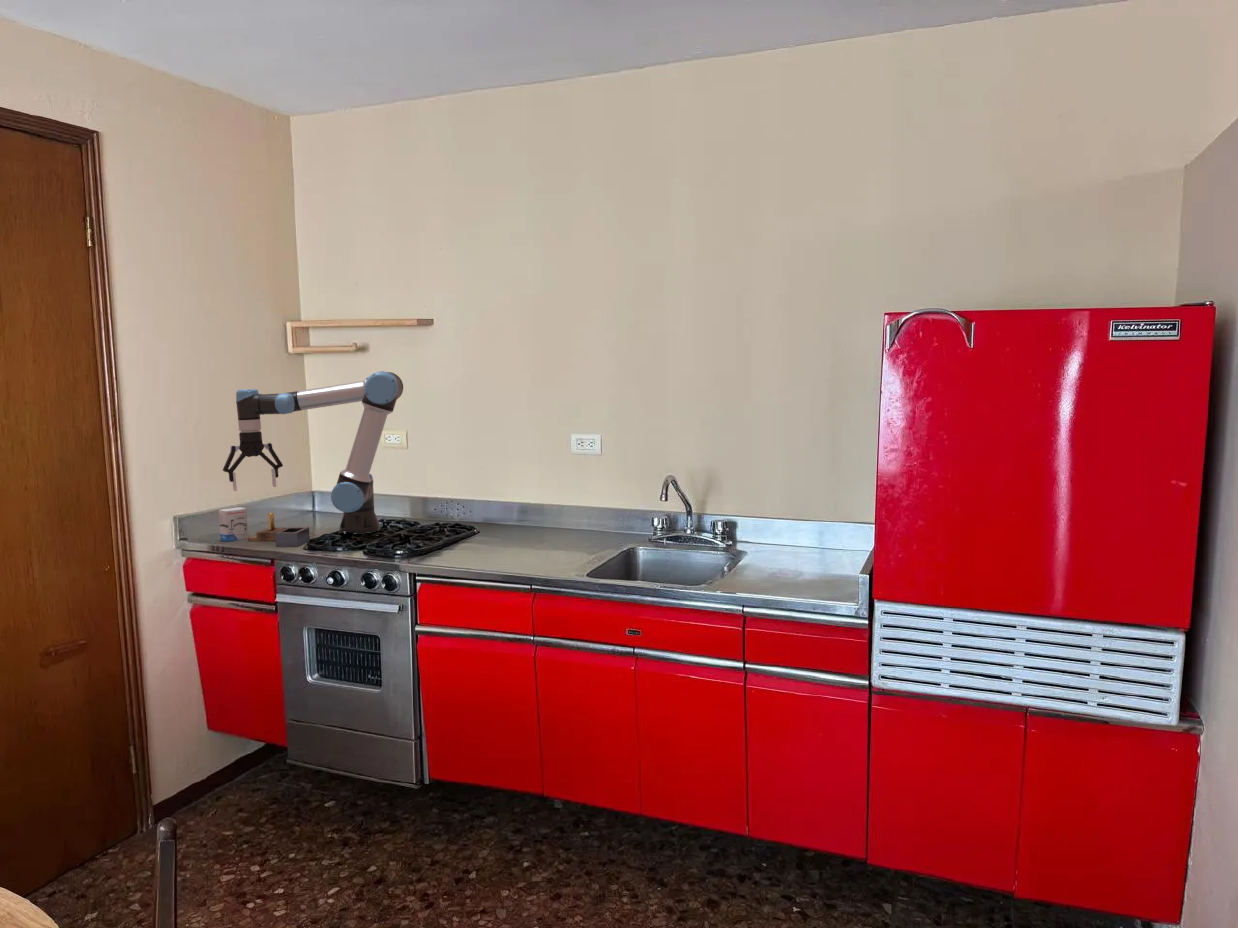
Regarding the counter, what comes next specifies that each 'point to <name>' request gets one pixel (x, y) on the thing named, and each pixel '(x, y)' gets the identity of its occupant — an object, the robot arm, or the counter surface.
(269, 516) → the post
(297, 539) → the collar
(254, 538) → the stand
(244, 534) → the ink box
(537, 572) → the counter surface
